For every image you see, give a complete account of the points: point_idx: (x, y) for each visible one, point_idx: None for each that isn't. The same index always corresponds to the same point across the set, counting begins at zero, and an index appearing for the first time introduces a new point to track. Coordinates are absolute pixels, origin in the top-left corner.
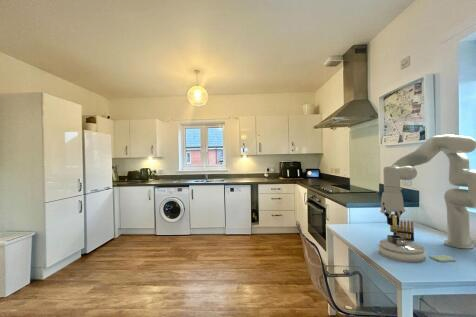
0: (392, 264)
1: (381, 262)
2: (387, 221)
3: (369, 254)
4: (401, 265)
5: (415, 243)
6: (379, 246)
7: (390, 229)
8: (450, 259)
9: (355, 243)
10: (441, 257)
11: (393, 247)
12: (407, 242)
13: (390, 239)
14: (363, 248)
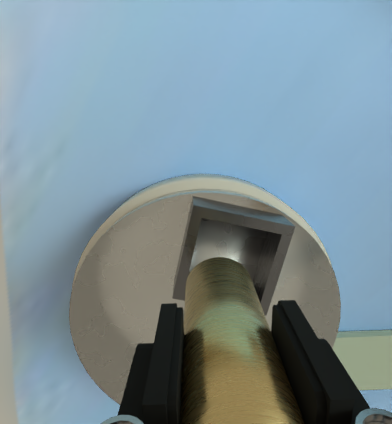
0: (75, 391)
1: (34, 368)
2: (136, 365)
3: (21, 264)
4: (110, 402)
5: (330, 307)
6: (79, 267)
7: (185, 296)
8: (382, 384)
9: (13, 24)
10: (367, 359)
11: (117, 367)
12: (293, 282)
13: (179, 258)
14: (29, 155)
